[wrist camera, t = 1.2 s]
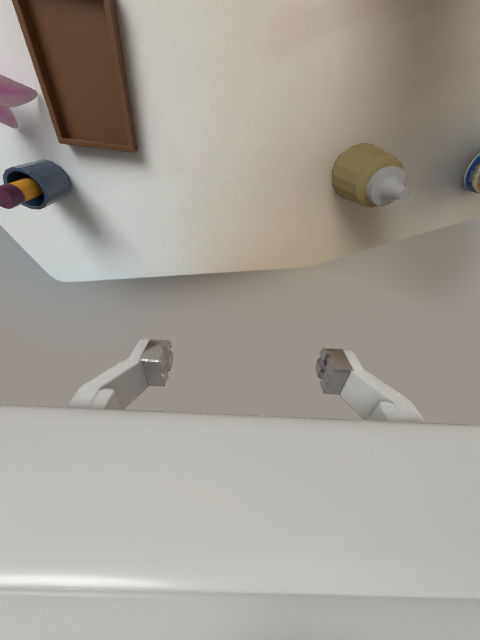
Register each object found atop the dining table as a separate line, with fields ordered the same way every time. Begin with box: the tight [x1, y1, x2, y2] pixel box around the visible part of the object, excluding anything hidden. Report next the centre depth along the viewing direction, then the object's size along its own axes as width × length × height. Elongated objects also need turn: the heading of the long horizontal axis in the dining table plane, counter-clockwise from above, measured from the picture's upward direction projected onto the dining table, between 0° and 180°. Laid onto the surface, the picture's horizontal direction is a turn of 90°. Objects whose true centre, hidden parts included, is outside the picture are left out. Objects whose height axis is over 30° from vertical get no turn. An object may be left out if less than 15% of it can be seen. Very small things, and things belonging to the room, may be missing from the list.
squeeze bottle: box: [332, 143, 409, 207], centre depth 35 cm, size 8×8×18 cm
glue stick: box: [0, 177, 44, 209], centre depth 36 cm, size 3×3×12 cm
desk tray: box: [12, 0, 138, 152], centre depth 32 cm, size 16×11×2 cm
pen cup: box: [3, 160, 71, 209], centre depth 38 cm, size 6×6×8 cm
